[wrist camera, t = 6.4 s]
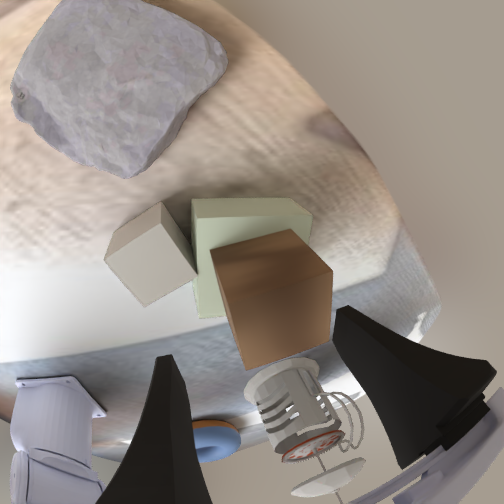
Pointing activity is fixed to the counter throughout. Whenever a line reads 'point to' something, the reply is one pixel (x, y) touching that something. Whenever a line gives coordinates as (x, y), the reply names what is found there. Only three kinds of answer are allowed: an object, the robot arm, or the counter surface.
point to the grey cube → (151, 255)
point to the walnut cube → (274, 296)
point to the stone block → (114, 81)
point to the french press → (303, 421)
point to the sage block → (235, 236)
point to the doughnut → (215, 439)
